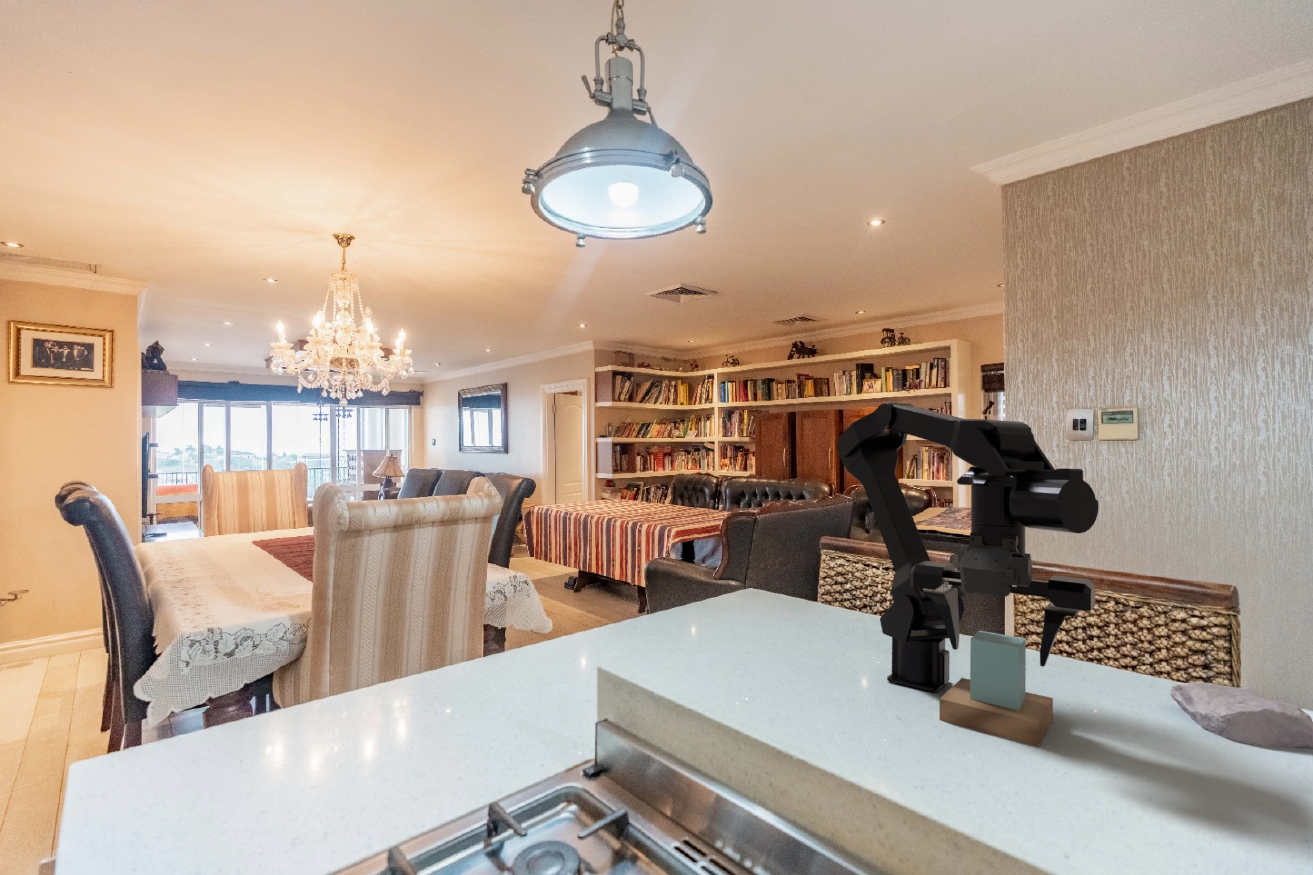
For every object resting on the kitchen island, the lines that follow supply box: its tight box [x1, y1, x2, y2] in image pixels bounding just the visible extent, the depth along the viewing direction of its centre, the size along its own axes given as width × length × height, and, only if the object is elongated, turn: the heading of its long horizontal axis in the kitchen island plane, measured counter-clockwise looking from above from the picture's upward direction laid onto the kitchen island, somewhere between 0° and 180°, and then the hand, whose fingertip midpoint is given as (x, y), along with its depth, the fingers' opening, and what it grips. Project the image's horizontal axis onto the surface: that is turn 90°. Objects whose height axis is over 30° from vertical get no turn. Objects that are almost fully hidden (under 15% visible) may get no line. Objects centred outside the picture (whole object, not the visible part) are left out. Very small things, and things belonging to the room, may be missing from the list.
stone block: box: [1169, 681, 1313, 749], centre depth 74 cm, size 12×5×10 cm
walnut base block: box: [938, 677, 1054, 748], centre depth 73 cm, size 10×10×3 cm
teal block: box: [969, 630, 1027, 710], centre depth 74 cm, size 5×5×7 cm
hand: (997, 656), depth 74 cm, fingers open, 9 cm apart
